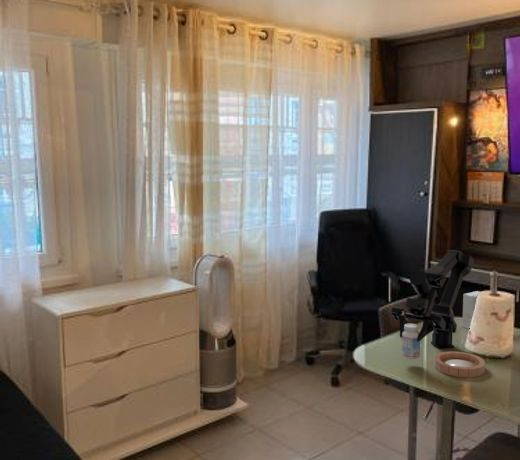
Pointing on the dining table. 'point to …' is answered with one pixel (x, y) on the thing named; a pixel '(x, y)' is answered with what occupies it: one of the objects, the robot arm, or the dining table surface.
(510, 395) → the dining table surface
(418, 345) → the pill bottle
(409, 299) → the robot arm
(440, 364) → the round dish
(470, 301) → the skincare box
